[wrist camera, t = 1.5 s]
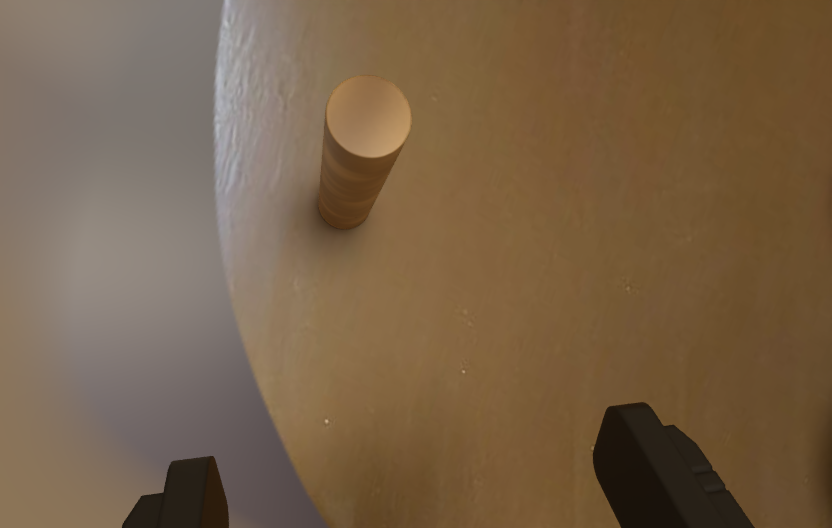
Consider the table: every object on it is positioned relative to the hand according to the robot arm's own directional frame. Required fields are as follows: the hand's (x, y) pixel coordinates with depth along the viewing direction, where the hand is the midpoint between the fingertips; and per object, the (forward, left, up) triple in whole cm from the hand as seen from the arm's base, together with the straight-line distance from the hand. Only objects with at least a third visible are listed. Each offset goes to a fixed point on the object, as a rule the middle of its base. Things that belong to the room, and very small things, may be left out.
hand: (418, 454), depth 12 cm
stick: (-2, +10, -21) cm, 23 cm away
